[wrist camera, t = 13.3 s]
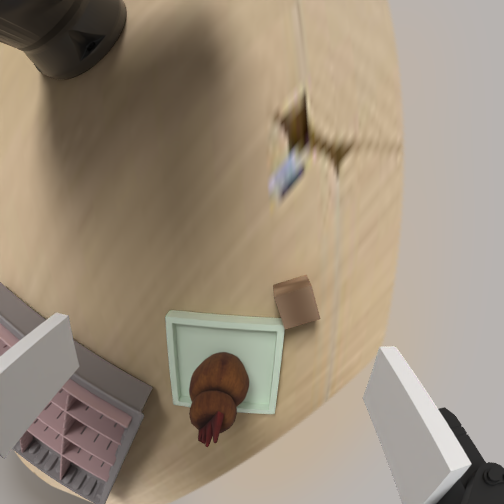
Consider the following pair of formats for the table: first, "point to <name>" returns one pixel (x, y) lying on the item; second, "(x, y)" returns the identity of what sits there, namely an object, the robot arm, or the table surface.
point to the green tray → (231, 341)
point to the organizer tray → (78, 414)
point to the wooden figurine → (217, 394)
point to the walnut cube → (296, 302)
